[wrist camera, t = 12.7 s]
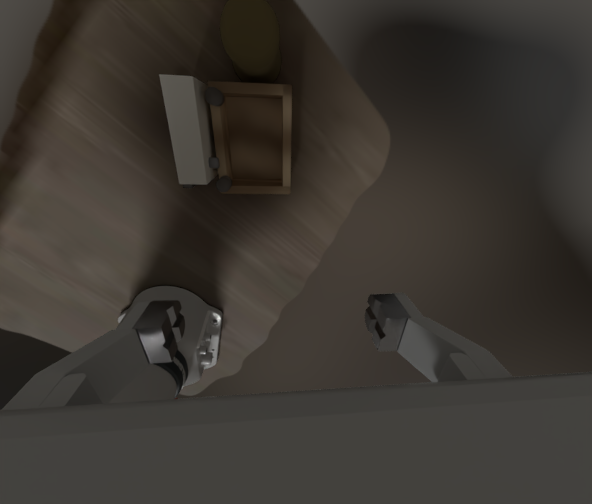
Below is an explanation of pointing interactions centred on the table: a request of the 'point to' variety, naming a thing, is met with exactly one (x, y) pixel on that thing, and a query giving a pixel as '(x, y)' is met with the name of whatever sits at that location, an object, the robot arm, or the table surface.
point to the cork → (251, 40)
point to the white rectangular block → (190, 128)
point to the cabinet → (251, 136)
